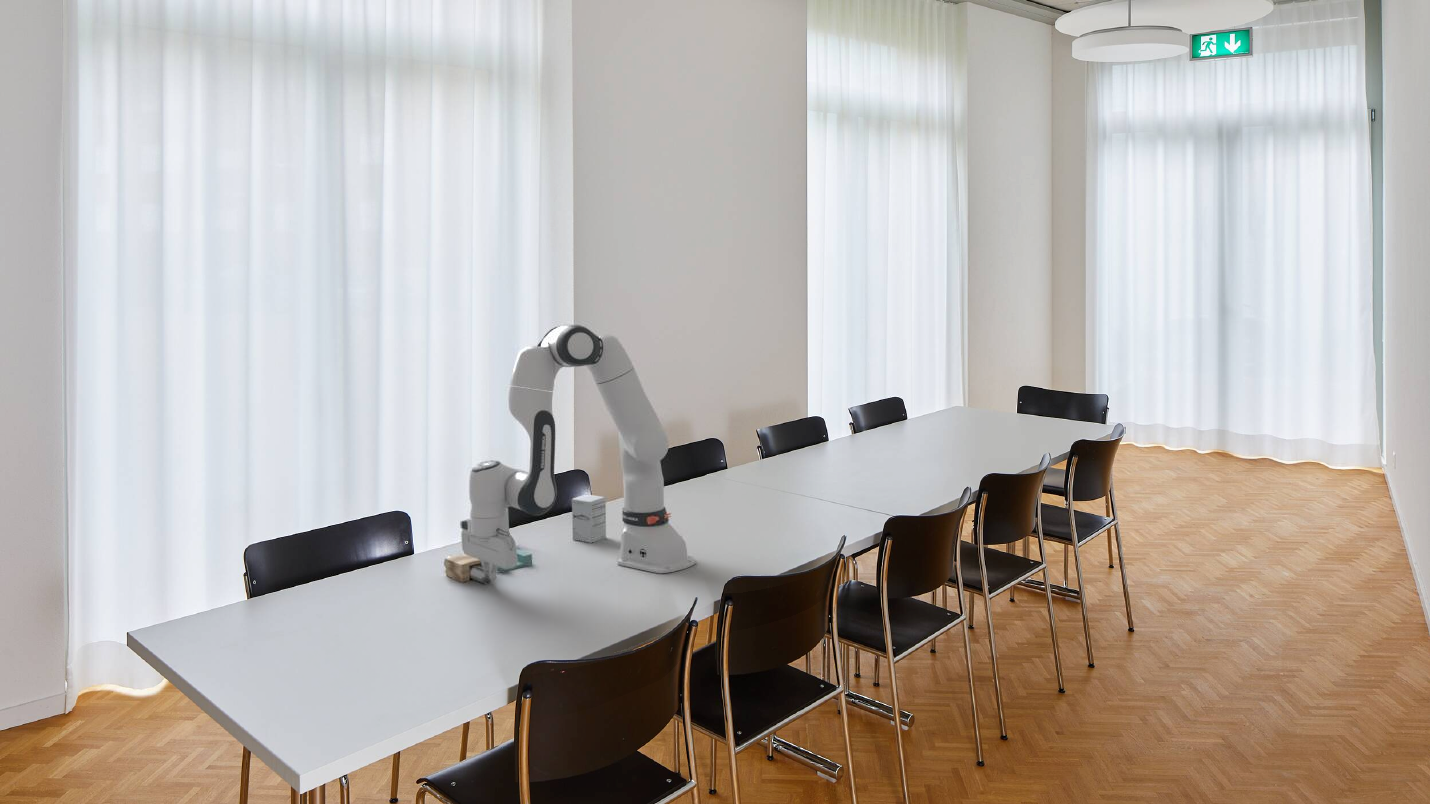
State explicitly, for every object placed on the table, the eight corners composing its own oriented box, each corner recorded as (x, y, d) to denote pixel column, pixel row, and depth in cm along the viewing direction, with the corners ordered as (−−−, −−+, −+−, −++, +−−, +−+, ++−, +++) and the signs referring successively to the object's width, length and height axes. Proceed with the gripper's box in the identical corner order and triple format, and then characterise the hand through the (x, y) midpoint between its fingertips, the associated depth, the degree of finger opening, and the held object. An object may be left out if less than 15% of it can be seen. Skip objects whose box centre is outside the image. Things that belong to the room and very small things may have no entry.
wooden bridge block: (492, 574, 254) (491, 557, 253) (462, 582, 247) (461, 565, 247) (475, 568, 259) (475, 551, 259) (446, 575, 253) (445, 558, 252)
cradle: (532, 564, 262) (531, 554, 262) (500, 572, 255) (500, 562, 255) (507, 554, 271) (507, 545, 270) (476, 562, 264) (475, 552, 263)
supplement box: (571, 540, 285) (570, 498, 283) (587, 534, 291) (586, 493, 290) (591, 543, 281) (590, 501, 279) (607, 537, 288) (606, 496, 286)
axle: (494, 579, 248) (490, 567, 247) (482, 586, 246) (479, 574, 245) (456, 565, 260) (453, 553, 259) (445, 571, 258) (442, 559, 257)
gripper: (522, 530, 239) (524, 584, 241) (477, 516, 253) (479, 566, 255) (501, 535, 234) (503, 590, 236) (456, 520, 248) (458, 572, 250)
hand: (490, 578), depth 246 cm, fingers closed
